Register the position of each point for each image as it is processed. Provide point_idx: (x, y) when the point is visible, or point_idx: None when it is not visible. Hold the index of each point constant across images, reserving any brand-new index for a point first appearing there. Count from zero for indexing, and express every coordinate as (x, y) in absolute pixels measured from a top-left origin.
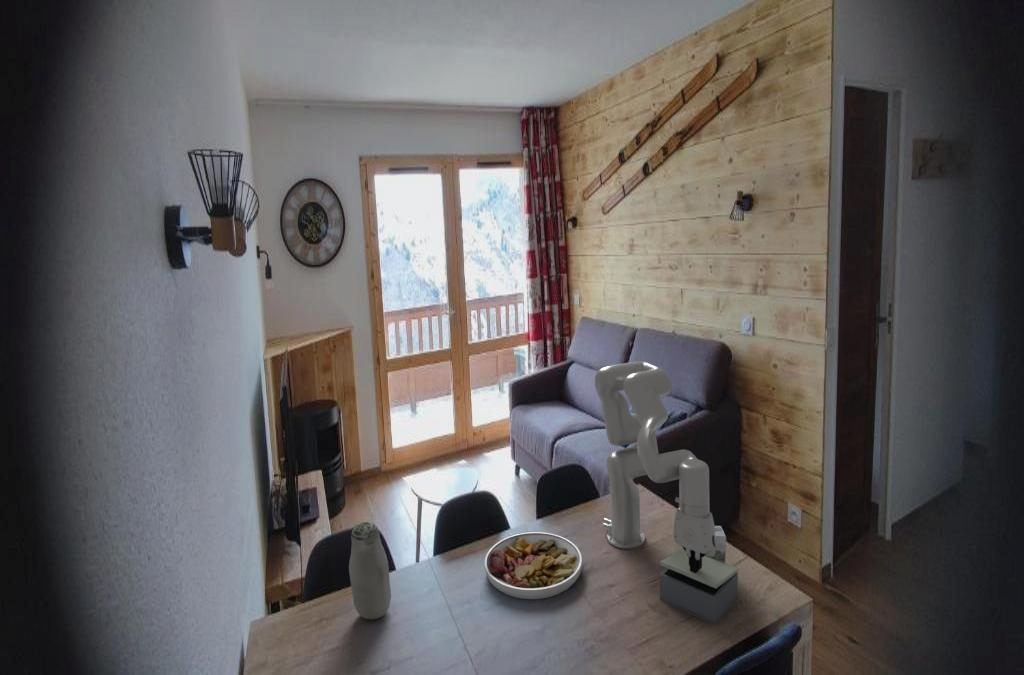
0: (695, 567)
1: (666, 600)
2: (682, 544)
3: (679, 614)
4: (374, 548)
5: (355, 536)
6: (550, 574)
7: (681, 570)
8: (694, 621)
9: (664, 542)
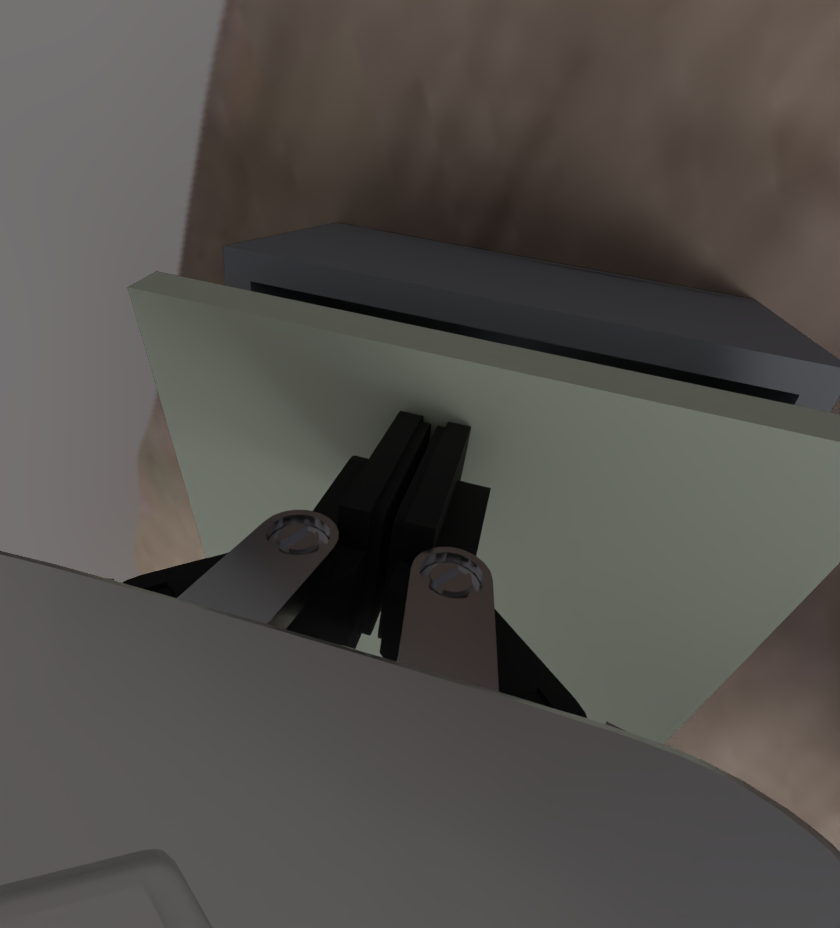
0: (379, 443)
1: (699, 292)
2: (530, 765)
3: (574, 206)
4: None
5: None
6: None
7: (570, 381)
8: (458, 188)
9: (787, 805)
